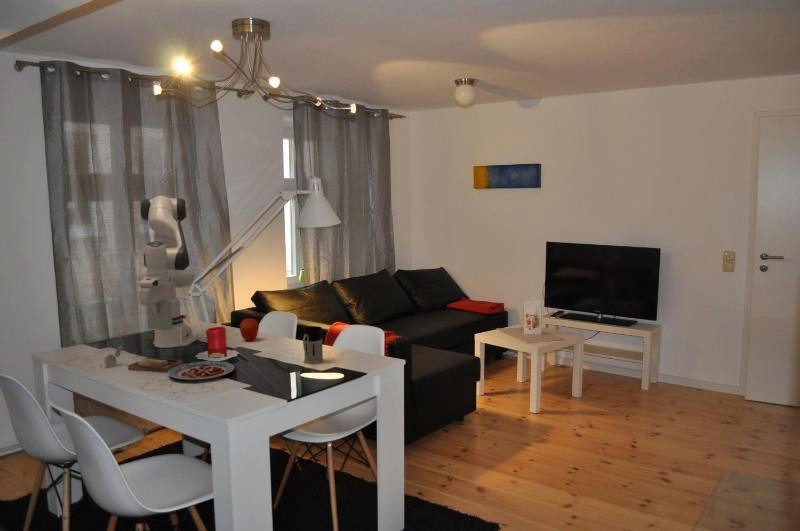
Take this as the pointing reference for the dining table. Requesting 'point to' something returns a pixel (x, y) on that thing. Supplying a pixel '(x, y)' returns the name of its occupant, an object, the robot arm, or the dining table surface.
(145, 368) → the walnut rack
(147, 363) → the offcut stack
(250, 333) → the apple
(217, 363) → the ceramic plate
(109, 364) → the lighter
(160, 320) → the grey-green rectangular block
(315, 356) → the glass holder
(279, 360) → the dining table surface
